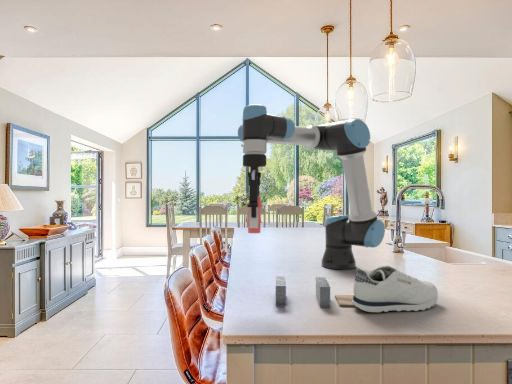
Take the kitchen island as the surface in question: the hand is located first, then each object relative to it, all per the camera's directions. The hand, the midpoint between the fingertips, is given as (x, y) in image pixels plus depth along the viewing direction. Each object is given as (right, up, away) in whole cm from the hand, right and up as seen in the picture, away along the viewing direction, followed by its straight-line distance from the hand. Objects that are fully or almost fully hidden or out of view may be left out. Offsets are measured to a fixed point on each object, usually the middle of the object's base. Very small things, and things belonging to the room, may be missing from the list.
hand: (254, 227), depth 117 cm
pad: (+31, -23, -4) cm, 38 cm away
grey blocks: (+15, -23, -3) cm, 27 cm away
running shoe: (+42, -23, -9) cm, 49 cm away
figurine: (0, -2, 0) cm, 2 cm away
